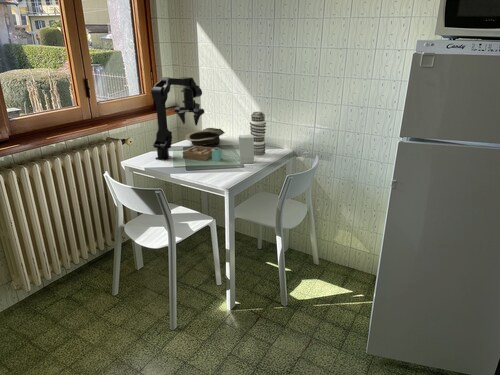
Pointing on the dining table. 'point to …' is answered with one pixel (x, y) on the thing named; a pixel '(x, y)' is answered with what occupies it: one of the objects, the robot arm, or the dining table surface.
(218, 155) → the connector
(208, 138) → the stone bowl
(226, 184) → the dining table surface
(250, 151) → the skincare box
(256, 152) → the decorative candle
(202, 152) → the socket
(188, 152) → the walled box
